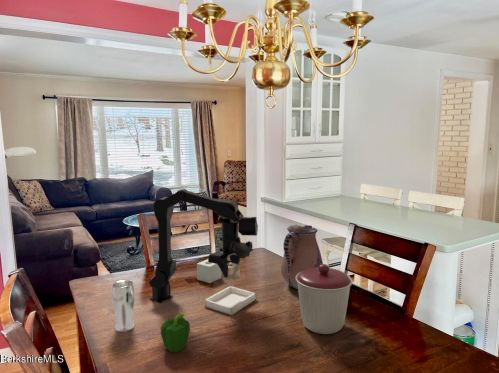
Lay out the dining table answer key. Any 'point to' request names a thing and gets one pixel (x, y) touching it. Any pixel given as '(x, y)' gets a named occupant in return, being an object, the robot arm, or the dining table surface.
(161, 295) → the robot arm
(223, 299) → the tray
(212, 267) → the sage block
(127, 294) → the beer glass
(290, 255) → the ceramic pitcher
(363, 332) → the dining table surface
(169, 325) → the bell pepper
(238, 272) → the maple block
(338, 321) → the canister
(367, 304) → the dining table surface
